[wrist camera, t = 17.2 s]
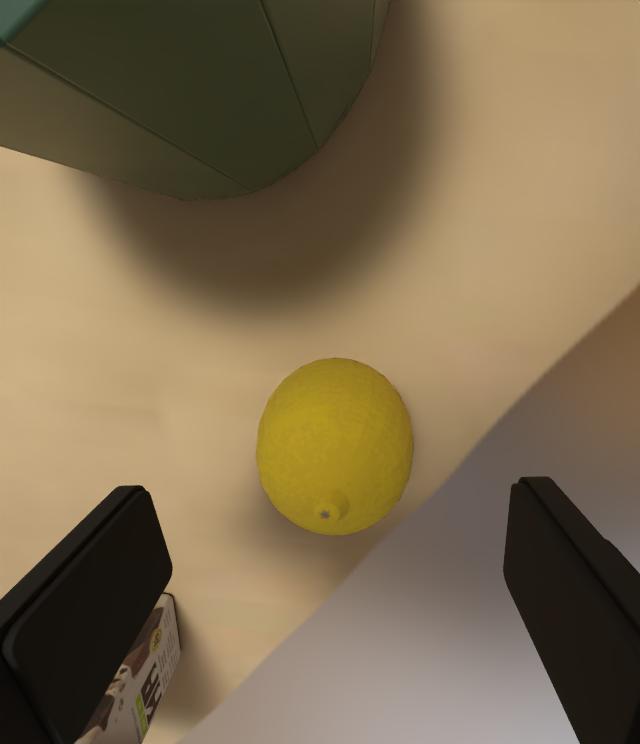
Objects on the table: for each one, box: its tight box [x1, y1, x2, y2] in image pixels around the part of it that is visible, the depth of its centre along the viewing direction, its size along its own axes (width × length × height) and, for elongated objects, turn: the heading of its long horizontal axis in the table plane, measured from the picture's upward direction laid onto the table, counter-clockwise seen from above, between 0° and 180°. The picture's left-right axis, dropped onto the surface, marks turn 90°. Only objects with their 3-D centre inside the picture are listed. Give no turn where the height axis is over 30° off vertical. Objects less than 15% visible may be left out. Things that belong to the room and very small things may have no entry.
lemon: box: [256, 358, 414, 535], centre depth 12 cm, size 6×6×8 cm
